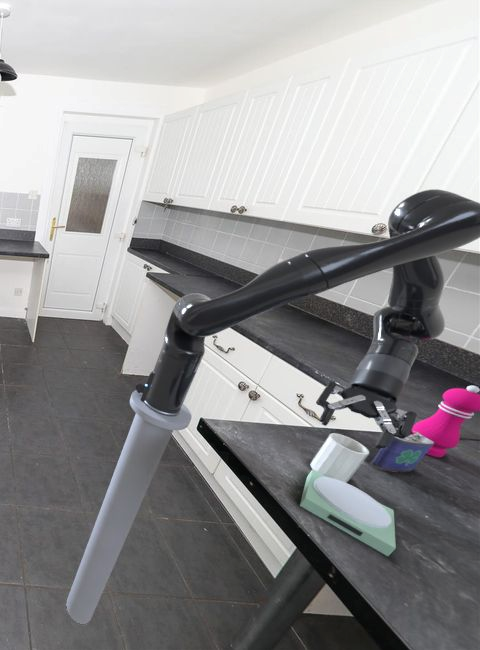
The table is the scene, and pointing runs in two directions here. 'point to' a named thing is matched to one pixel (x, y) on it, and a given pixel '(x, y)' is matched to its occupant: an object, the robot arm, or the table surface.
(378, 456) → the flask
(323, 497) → the scale
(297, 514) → the table surface
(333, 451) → the cup
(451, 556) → the table surface
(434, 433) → the pepper mill
